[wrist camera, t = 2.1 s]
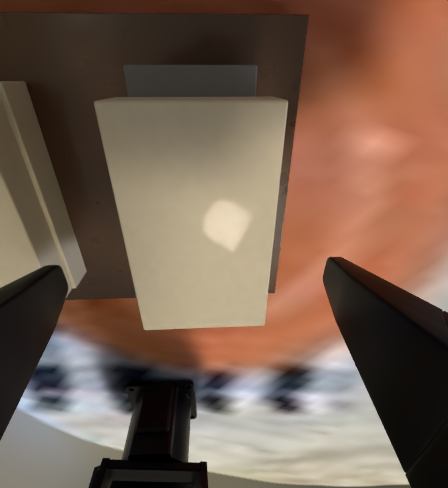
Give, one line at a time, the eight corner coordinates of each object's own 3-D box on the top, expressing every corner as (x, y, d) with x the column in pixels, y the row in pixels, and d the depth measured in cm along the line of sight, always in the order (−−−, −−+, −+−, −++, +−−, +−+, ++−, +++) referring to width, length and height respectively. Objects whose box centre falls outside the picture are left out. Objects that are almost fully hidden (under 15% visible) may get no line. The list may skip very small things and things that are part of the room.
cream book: (257, 296, 15) (264, 326, 14) (151, 299, 15) (143, 331, 13) (274, 96, 10) (289, 99, 8) (113, 96, 10) (92, 100, 8)
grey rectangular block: (242, 272, 19) (248, 309, 16) (169, 274, 19) (162, 312, 16) (250, 68, 13) (263, 64, 10) (143, 68, 13) (122, 64, 10)
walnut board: (271, 282, 21) (274, 293, 20) (-21, 292, 20) (-33, 303, 19) (301, 19, 13) (309, 14, 12) (-189, 16, 12) (-226, 9, 11)
